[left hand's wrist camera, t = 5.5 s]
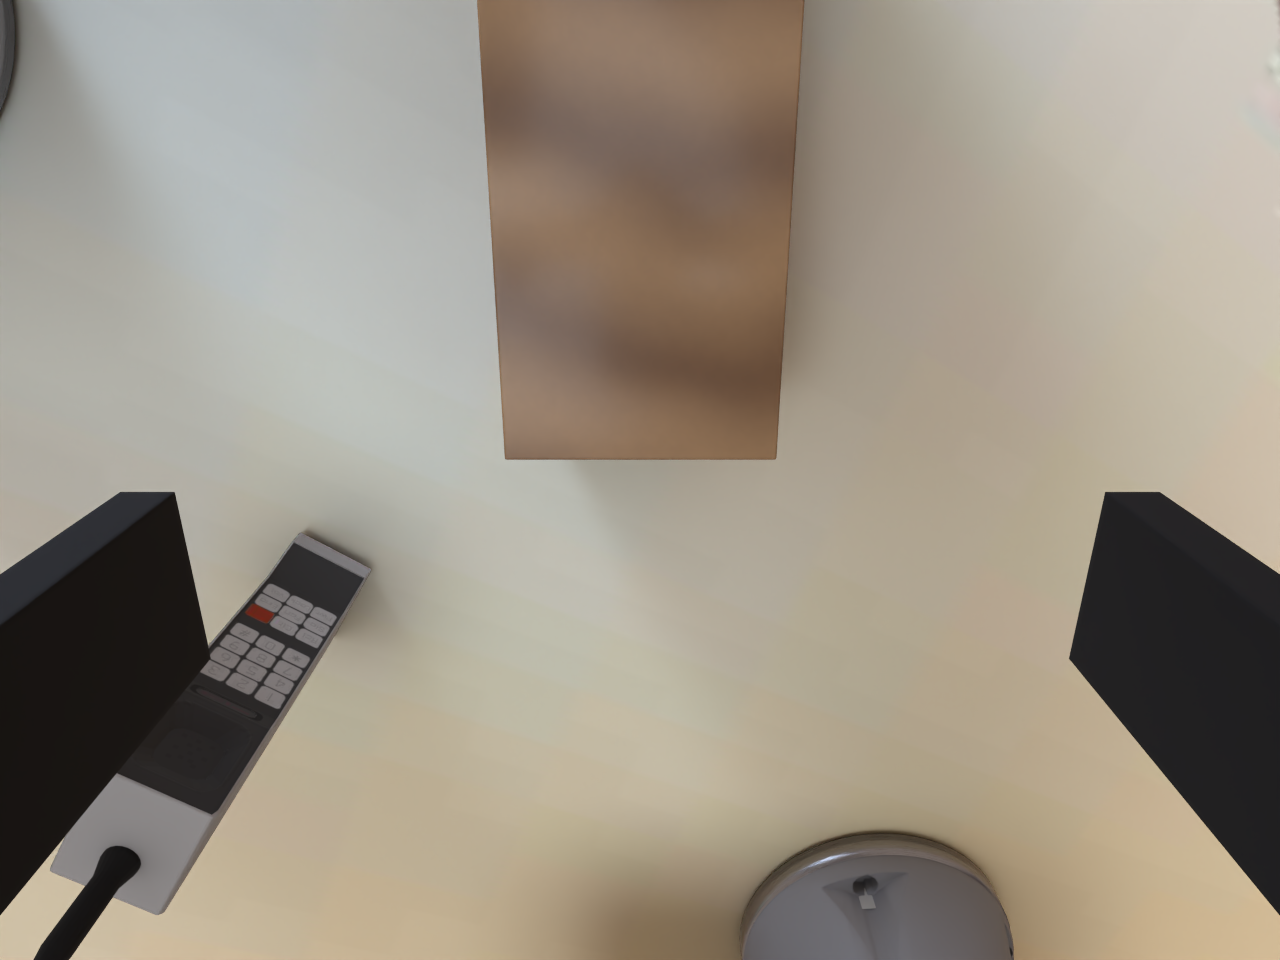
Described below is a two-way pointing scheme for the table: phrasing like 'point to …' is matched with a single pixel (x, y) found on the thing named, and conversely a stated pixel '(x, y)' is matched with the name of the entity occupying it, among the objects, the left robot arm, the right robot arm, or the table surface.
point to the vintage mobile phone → (204, 744)
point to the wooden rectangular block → (640, 222)
